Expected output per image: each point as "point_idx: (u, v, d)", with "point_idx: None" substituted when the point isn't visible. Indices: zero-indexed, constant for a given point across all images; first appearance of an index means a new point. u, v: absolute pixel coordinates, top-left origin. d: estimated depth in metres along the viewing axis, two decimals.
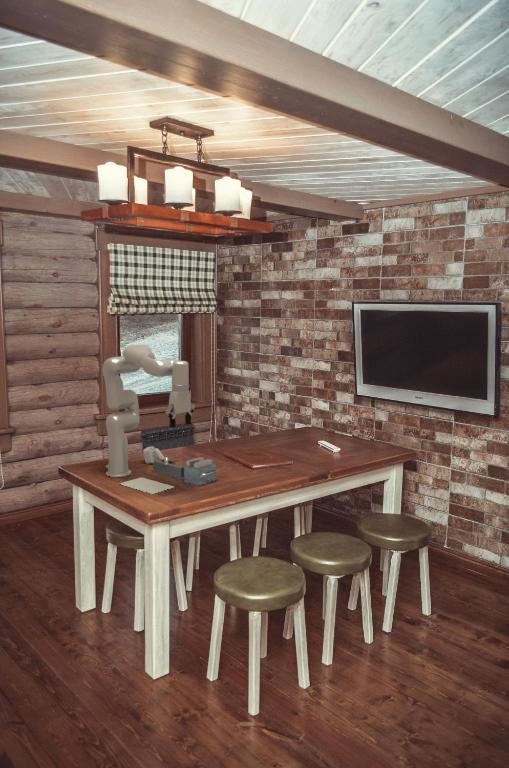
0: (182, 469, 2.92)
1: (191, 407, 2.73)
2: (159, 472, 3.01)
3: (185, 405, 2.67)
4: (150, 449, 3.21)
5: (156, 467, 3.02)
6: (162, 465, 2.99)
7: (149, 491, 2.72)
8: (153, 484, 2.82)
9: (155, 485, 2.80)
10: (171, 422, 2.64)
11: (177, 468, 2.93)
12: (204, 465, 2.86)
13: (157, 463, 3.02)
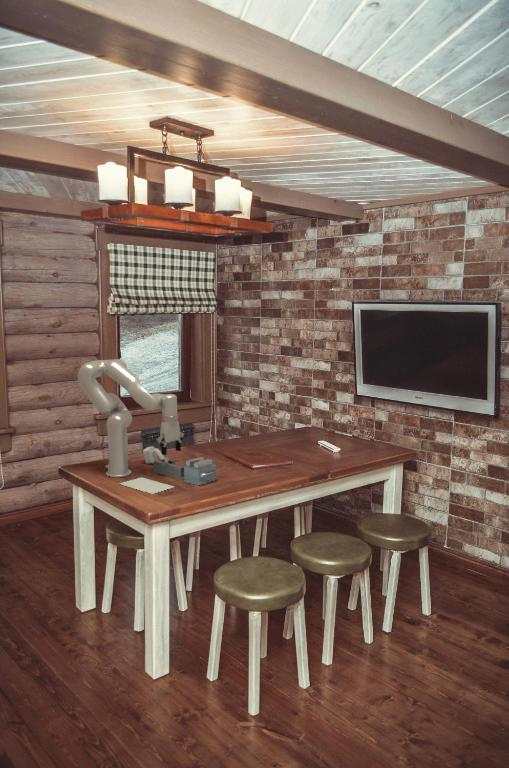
0: (182, 469, 2.92)
1: (180, 435, 3.01)
2: (159, 472, 3.01)
3: (175, 434, 2.95)
4: (150, 449, 3.21)
5: (156, 467, 3.02)
6: (162, 465, 2.99)
7: (149, 491, 2.72)
8: (153, 484, 2.82)
9: (155, 485, 2.80)
10: (162, 450, 2.92)
11: (177, 468, 2.93)
12: (204, 465, 2.86)
13: (157, 463, 3.02)
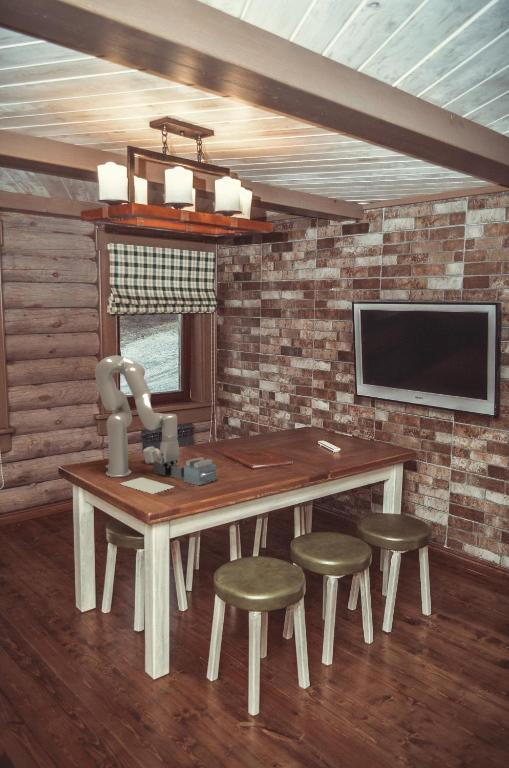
0: (182, 469, 2.92)
1: (176, 458, 3.01)
2: (159, 472, 3.01)
3: (174, 454, 2.96)
4: (150, 449, 3.21)
5: (156, 467, 3.02)
6: (162, 465, 2.99)
7: (149, 491, 2.72)
8: (153, 484, 2.82)
9: (155, 485, 2.80)
10: (166, 471, 2.96)
11: (177, 468, 2.93)
12: (204, 465, 2.86)
13: (157, 463, 3.02)
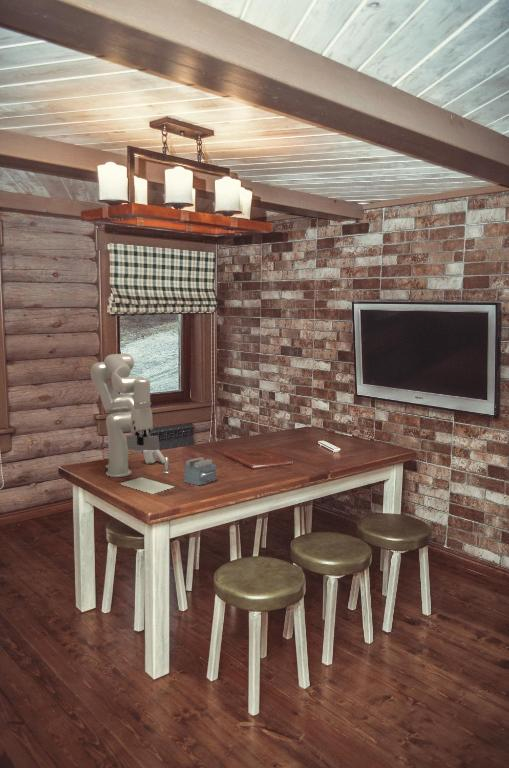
0: (156, 438, 2.69)
1: (149, 427, 2.78)
2: (133, 448, 2.78)
3: (147, 422, 2.74)
4: None
5: (130, 443, 2.79)
6: (135, 439, 2.76)
7: (149, 491, 2.72)
8: (153, 484, 2.82)
9: (155, 485, 2.80)
10: (138, 440, 2.73)
11: (151, 438, 2.70)
12: (204, 465, 2.86)
13: (130, 438, 2.79)
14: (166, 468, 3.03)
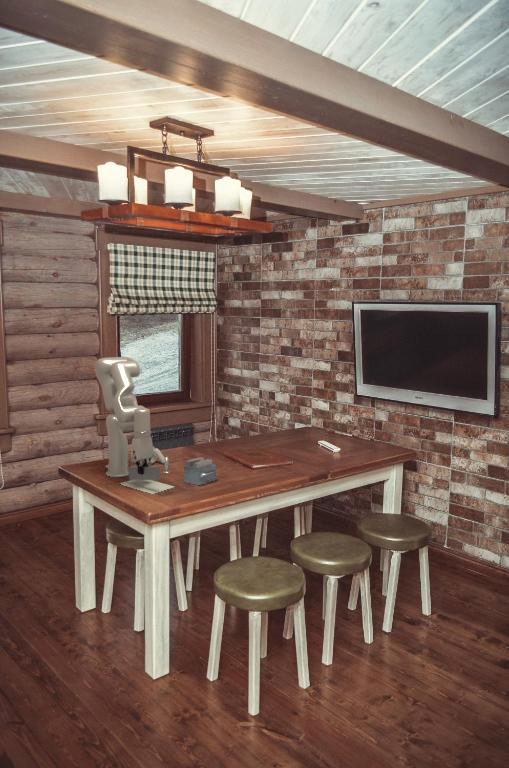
0: (157, 468, 2.70)
1: (150, 456, 2.80)
2: (135, 478, 2.79)
3: (147, 451, 2.75)
4: None
5: (131, 473, 2.81)
6: (137, 469, 2.78)
7: (149, 491, 2.72)
8: (153, 484, 2.82)
9: (155, 485, 2.80)
10: (139, 469, 2.75)
11: (152, 468, 2.71)
12: (204, 465, 2.86)
13: (131, 468, 2.80)
14: (166, 468, 3.03)
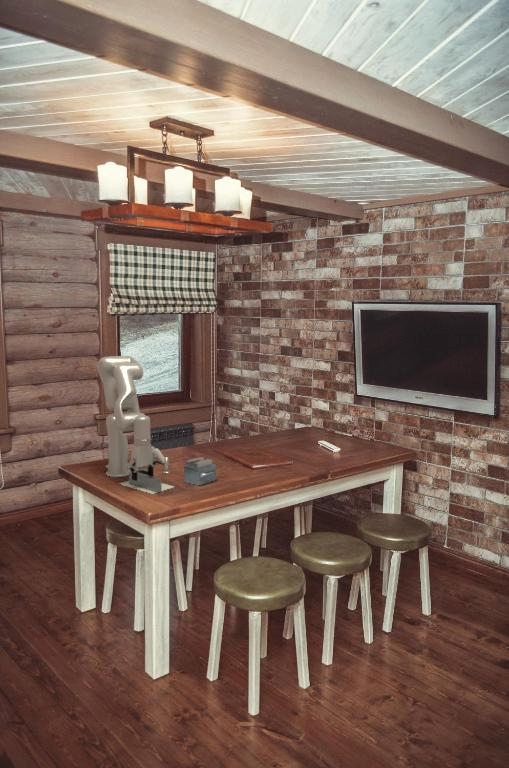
0: (159, 481, 2.70)
1: (154, 459, 2.82)
2: (135, 484, 2.80)
3: (147, 458, 2.76)
4: None
5: None
6: (138, 476, 2.78)
7: (149, 491, 2.72)
8: None
9: None
10: (133, 475, 2.73)
11: (154, 480, 2.71)
12: (204, 465, 2.86)
13: None
14: (166, 468, 3.03)
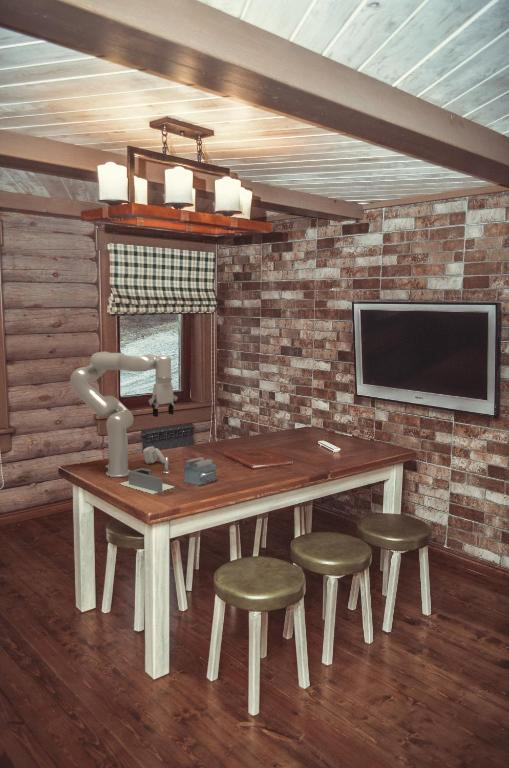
0: (160, 480, 2.71)
1: (174, 398, 2.97)
2: (135, 484, 2.80)
3: (167, 396, 2.90)
4: (150, 449, 3.21)
5: (131, 478, 2.81)
6: (138, 476, 2.78)
7: (149, 491, 2.72)
8: None
9: None
10: (154, 412, 2.88)
11: (155, 479, 2.72)
12: (204, 465, 2.86)
13: (133, 474, 2.80)
14: (166, 468, 3.03)
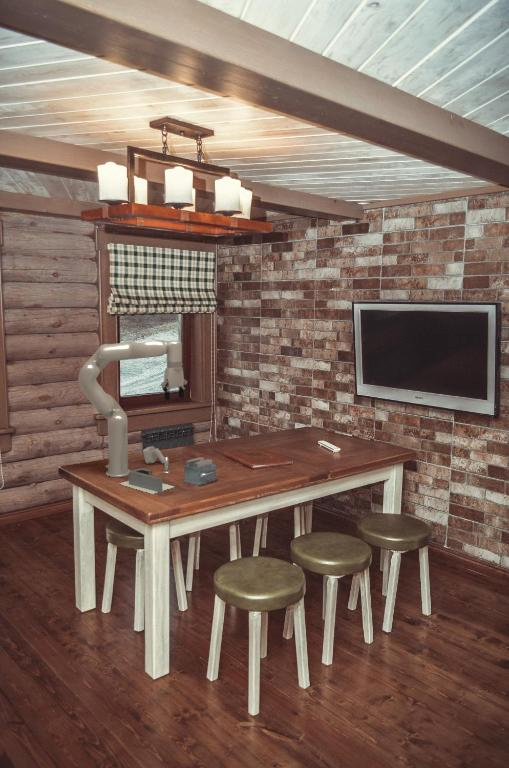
0: (160, 480, 2.71)
1: (184, 382, 3.06)
2: (135, 484, 2.80)
3: (178, 380, 3.00)
4: (150, 449, 3.21)
5: (131, 478, 2.81)
6: (138, 476, 2.78)
7: (149, 491, 2.72)
8: None
9: None
10: (166, 395, 2.97)
11: (155, 479, 2.72)
12: (204, 465, 2.86)
13: (133, 474, 2.80)
14: (166, 468, 3.03)
